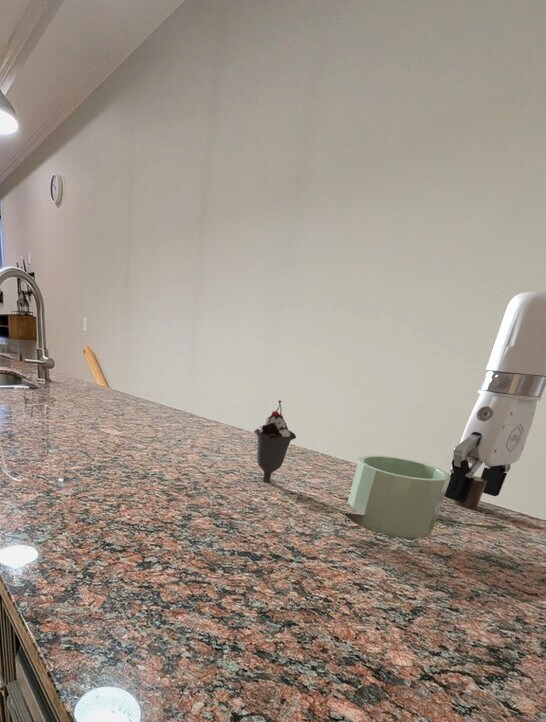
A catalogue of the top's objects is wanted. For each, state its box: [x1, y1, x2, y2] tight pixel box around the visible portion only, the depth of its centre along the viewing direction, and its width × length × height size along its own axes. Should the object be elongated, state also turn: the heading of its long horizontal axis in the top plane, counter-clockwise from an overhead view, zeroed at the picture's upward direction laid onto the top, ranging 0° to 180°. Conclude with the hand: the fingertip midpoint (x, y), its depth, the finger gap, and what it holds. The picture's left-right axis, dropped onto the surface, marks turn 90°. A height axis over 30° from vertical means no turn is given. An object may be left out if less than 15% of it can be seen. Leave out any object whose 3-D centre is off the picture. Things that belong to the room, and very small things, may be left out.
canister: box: [345, 455, 451, 539], centre depth 66 cm, size 12×12×8 cm
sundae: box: [253, 399, 297, 483], centre depth 73 cm, size 7×7×15 cm
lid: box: [453, 475, 508, 530], centre depth 72 cm, size 13×13×6 cm
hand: (471, 496), depth 71 cm, fingers open, 9 cm apart
